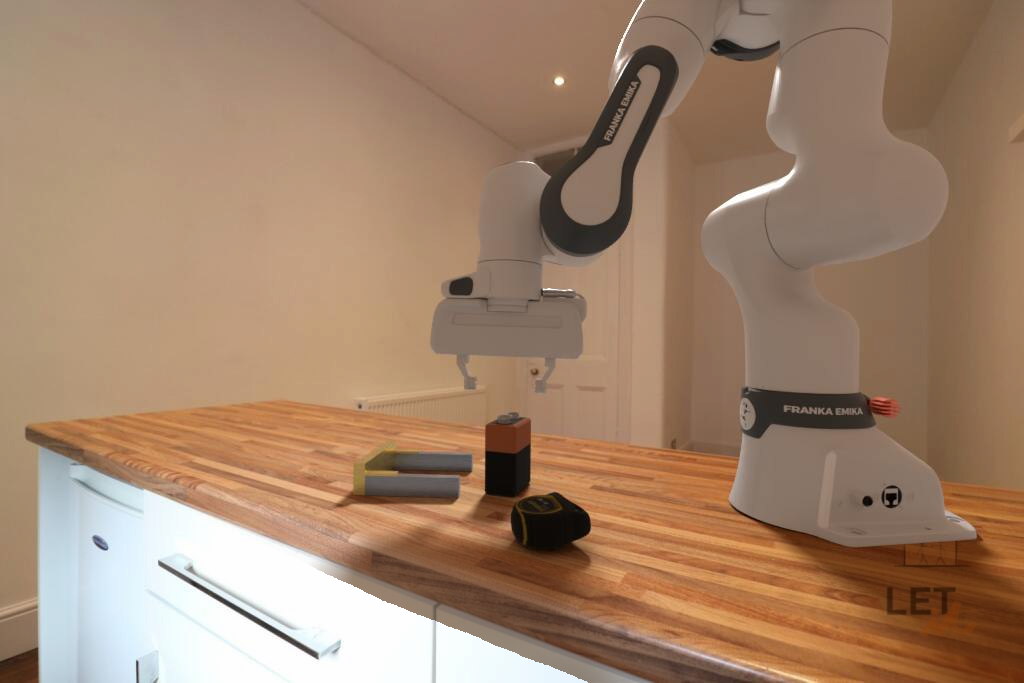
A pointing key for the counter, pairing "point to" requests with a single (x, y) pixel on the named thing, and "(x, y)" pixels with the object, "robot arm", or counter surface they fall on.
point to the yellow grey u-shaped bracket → (381, 481)
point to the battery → (507, 454)
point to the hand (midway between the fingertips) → (505, 391)
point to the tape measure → (548, 521)
